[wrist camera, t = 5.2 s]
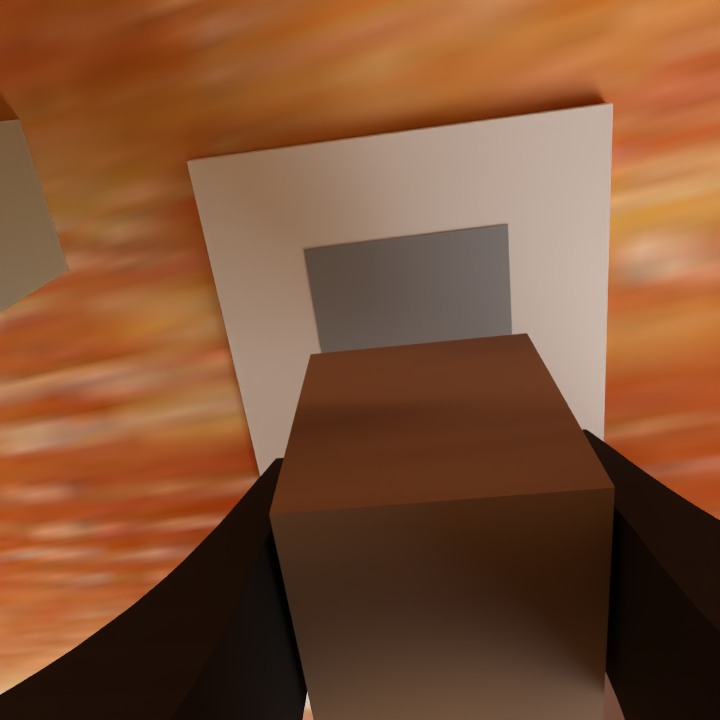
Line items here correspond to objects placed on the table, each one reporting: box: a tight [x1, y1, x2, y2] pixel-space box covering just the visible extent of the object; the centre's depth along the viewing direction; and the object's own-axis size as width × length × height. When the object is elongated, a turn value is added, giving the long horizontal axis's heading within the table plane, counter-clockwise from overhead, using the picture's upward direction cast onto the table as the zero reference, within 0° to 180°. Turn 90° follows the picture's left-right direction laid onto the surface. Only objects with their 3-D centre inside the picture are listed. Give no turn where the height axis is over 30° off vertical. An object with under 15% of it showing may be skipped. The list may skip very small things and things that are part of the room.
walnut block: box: [269, 333, 615, 720], centre depth 11 cm, size 4×4×5 cm
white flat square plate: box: [187, 103, 613, 476], centre depth 19 cm, size 11×11×1 cm
